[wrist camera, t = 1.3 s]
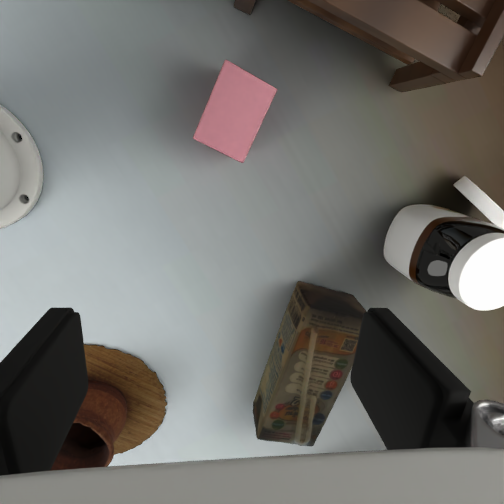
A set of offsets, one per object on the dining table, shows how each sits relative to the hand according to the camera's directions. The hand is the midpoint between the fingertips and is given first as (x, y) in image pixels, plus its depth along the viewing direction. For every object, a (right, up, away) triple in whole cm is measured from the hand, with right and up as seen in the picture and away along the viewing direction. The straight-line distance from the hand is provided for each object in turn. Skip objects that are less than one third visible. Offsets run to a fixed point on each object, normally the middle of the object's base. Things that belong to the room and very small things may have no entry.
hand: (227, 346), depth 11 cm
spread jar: (+21, +7, +28) cm, 36 cm away
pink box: (-1, +16, +21) cm, 26 cm away
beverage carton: (+7, -9, +32) cm, 34 cm away
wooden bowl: (-19, -16, +31) cm, 39 cm away
